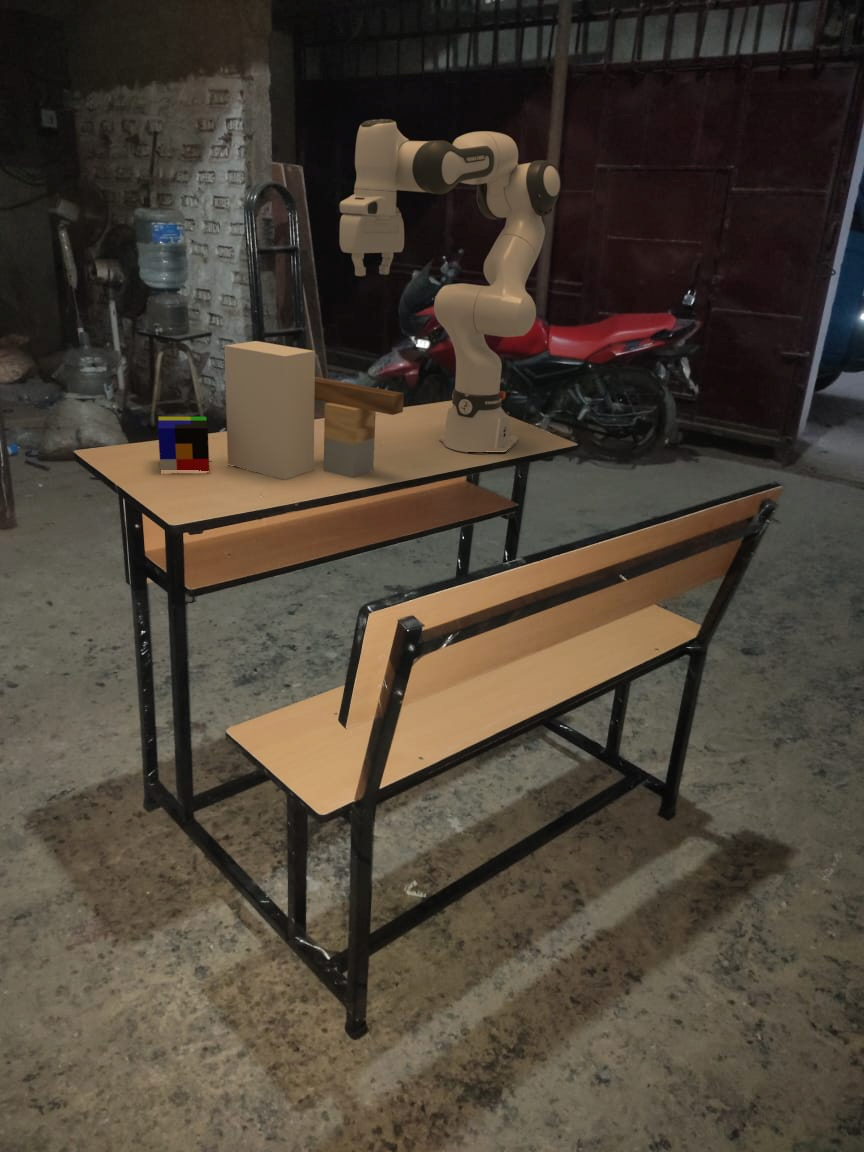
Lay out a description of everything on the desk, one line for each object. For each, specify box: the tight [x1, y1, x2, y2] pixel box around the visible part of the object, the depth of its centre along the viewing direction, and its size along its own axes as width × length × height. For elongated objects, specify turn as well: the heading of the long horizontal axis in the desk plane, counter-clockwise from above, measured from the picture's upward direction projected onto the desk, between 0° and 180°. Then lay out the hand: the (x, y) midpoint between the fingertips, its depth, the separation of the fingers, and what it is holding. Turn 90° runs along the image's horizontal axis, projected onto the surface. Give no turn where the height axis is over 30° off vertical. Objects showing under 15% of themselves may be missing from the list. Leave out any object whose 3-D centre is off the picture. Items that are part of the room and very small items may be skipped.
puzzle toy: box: [157, 416, 210, 472], centre depth 185 cm, size 10×10×10 cm
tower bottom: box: [323, 437, 375, 479], centre depth 191 cm, size 8×8×8 cm
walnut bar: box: [314, 376, 405, 416], centre depth 186 cm, size 4×24×4 cm, turn 60°
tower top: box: [323, 402, 377, 445], centre depth 188 cm, size 8×8×8 cm
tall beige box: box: [224, 340, 316, 481], centre depth 185 cm, size 10×16×26 cm, turn 61°
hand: (372, 275), depth 185 cm, fingers open, 8 cm apart
